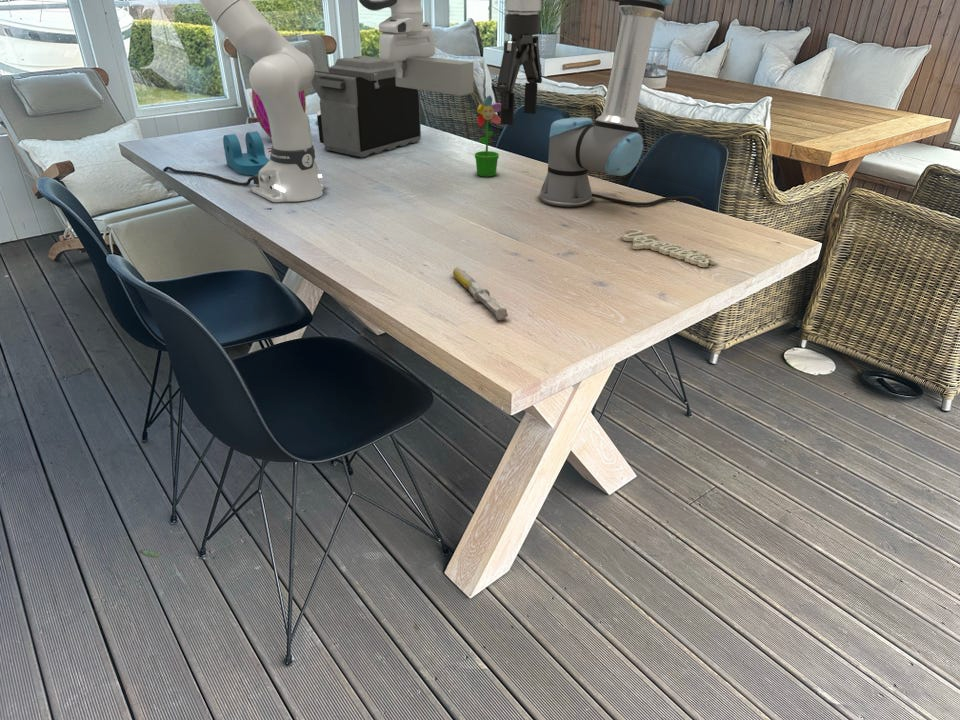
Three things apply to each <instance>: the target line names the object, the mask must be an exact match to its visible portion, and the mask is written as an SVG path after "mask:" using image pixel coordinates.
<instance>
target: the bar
mask: <svg viewBox="0 0 960 720" xmlns="http://www.w3.org/2000/svg"><path fill="white" fill-rule="evenodd" d="M401 67H402V70H403V71H405V77H404V78H398V77H397V71H396V69H395V79H396V86H398V87H405V88H411V89H418V90H419V91H425V92H432V93H441V94H446V95H454V96H465V95H470V94H474V62H473V61H468V60H457V59H449V58H441V57H433V56H432V57H423V56H418V57H411V58H406V60H405V61H402V65H401Z"/></svg>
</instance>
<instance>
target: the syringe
mask: <svg viewBox="0 0 960 720" xmlns="http://www.w3.org/2000/svg"><path fill="white" fill-rule="evenodd" d="M452 274H453V277H454V279H455V280H457V281H458V282H459V283H460V285H462V287H464V289H466V290H467V291H468V293H470V295H471V296H472V298H473V300H474V302H477V303H478V302H480V303H482V304H483V305H484V306H485V307H486V308H487V309H488V310H489V311H490V312H491V313H492V314H493V315H494V316H495V317H496V320H497V321H503V320H504V319H506V318H507V317H509V314H508V310H507V308H506V307H502V306H501V305H500V303H498V302H497V301H496V300H494V299H493V298H492V297H491V296H490V295H491V293H490V290H488V289H486V288H483V287H482V286H481V285H480V284H479V283H478V282H477V281H476V280H474V278H473V277H471V275H469V274H468V273H467V272H466V270H465V269H464V268H463V267H462V266H456V267H454V268H453V271H452Z"/></svg>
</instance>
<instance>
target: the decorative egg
mask: <svg viewBox="0 0 960 720" xmlns="http://www.w3.org/2000/svg"><path fill="white" fill-rule="evenodd" d="M299 99H300V102H301V105H302V108H303V110H304V112H305V113H306V104H307V103H306V102H307V101H306V99H307V97H306V93H305V89H304V90H303V91H300V92H299ZM251 101H252V107H253V110H254V114H255V116H256V118H257V121H258V123H259V125H260V127H261V128H262V130H263V131H264V133H266V135H267V136H268V137H270V138H271V131H270V125H269V120H268V116H267V113H266V110H265V108H264V105H263V103H262V101H261V98H260V97H259V96H258V95H257V94H256V93H255V91H254V90H253V88H252V87H251Z"/></svg>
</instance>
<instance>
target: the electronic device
mask: <svg viewBox="0 0 960 720" xmlns="http://www.w3.org/2000/svg"><path fill="white" fill-rule="evenodd" d="M311 87H313V90H314V91H315V93H316V94H317V96H318V98H319V111H321V115H319V116H318V117H317V116H316V119H317V120H318V121H317V128H318V138H319V143H320V144H323V146H324V149H325V150H327V151H330V152H335V153H340V154H344V155H348V156H353V157H357V158H362V159H363V158H366V157H367V158H368V157H369V155H371V154H375V155H377V154H381V153H382V152H383V151H391V150H395V149H396V148H397V147H405V146H407V145H408V144H416V143H418V142H419V141H421V137H422V128H421V97H420V92H419V91H420V90H418V89H411V88H405V87H398V86H396V79H395V67H394V64H393V62H391V63H389V62H383V61H382V60H381V58H380V57H377V56H367V55H356V56H353V57H350V58H349V57H343V58H342V57H341V58H337V59H336V60H335V63H334V64H333V65H330V66H329V67H328V72H327V71H320V70H315V74H314V78H313V80H312V82H311Z"/></svg>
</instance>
